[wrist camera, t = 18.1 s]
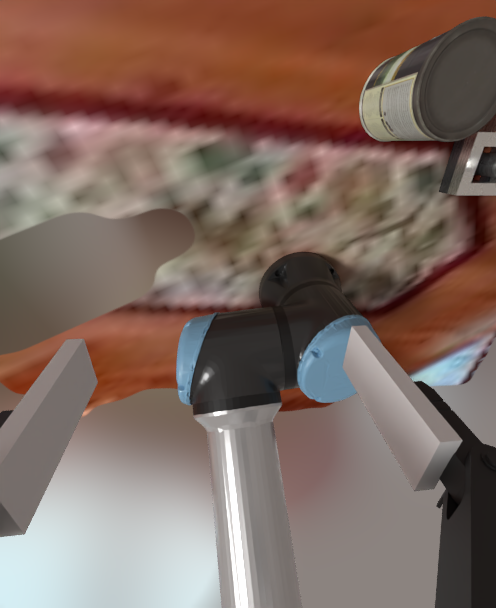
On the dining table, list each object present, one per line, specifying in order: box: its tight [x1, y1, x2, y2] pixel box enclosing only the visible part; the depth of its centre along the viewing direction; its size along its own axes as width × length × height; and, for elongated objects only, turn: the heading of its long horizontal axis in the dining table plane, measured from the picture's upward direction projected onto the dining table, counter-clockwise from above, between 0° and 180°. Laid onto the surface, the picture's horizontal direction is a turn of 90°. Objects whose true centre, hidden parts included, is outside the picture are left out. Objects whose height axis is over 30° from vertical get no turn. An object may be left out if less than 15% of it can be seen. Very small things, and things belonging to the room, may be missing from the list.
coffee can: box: [359, 17, 496, 142], centre depth 36 cm, size 10×10×14 cm
